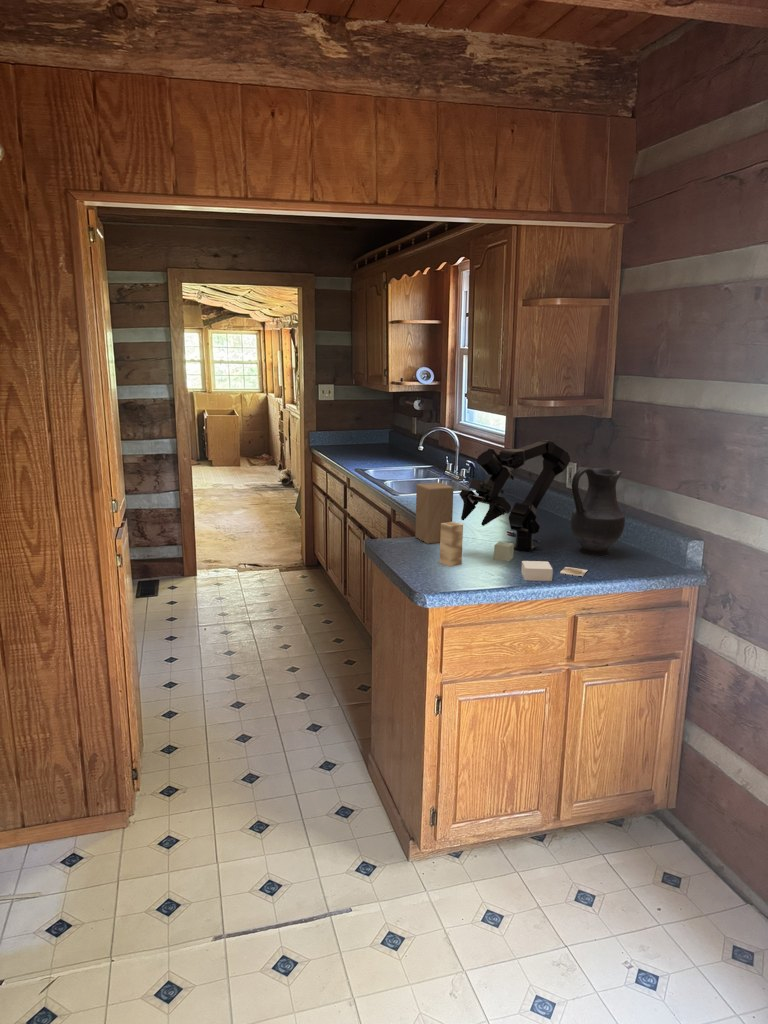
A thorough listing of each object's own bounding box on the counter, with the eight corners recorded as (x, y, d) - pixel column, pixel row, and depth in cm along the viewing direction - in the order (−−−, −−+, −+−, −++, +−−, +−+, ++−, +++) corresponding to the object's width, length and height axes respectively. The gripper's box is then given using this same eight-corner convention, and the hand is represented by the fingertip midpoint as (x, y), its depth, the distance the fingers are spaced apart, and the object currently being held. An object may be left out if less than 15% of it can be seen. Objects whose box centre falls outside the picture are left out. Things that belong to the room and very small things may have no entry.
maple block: (451, 560, 233) (452, 521, 230) (461, 564, 229) (463, 524, 226) (439, 562, 230) (440, 523, 227) (449, 566, 226) (451, 526, 223)
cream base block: (521, 573, 221) (521, 560, 220) (547, 574, 221) (548, 561, 220) (524, 581, 213) (525, 568, 213) (551, 582, 213) (552, 569, 212)
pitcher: (632, 556, 241) (640, 467, 235) (587, 564, 231) (594, 472, 225) (594, 544, 256) (600, 461, 249) (550, 551, 246) (555, 464, 239)
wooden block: (414, 537, 261) (416, 483, 257) (439, 535, 265) (440, 482, 261) (427, 544, 253) (428, 488, 248) (452, 541, 256) (454, 486, 252)
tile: (565, 567, 226) (565, 566, 226) (587, 571, 223) (587, 569, 223) (559, 573, 220) (559, 571, 220) (582, 577, 217) (582, 575, 217)
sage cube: (498, 556, 239) (499, 541, 238) (513, 558, 237) (513, 543, 236) (493, 559, 235) (494, 544, 234) (508, 561, 233) (509, 547, 232)
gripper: (462, 465, 236) (438, 503, 233) (504, 472, 222) (480, 514, 218) (480, 484, 243) (457, 522, 239) (521, 492, 229) (498, 533, 225)
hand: (472, 522), depth 230 cm, fingers open, 9 cm apart
